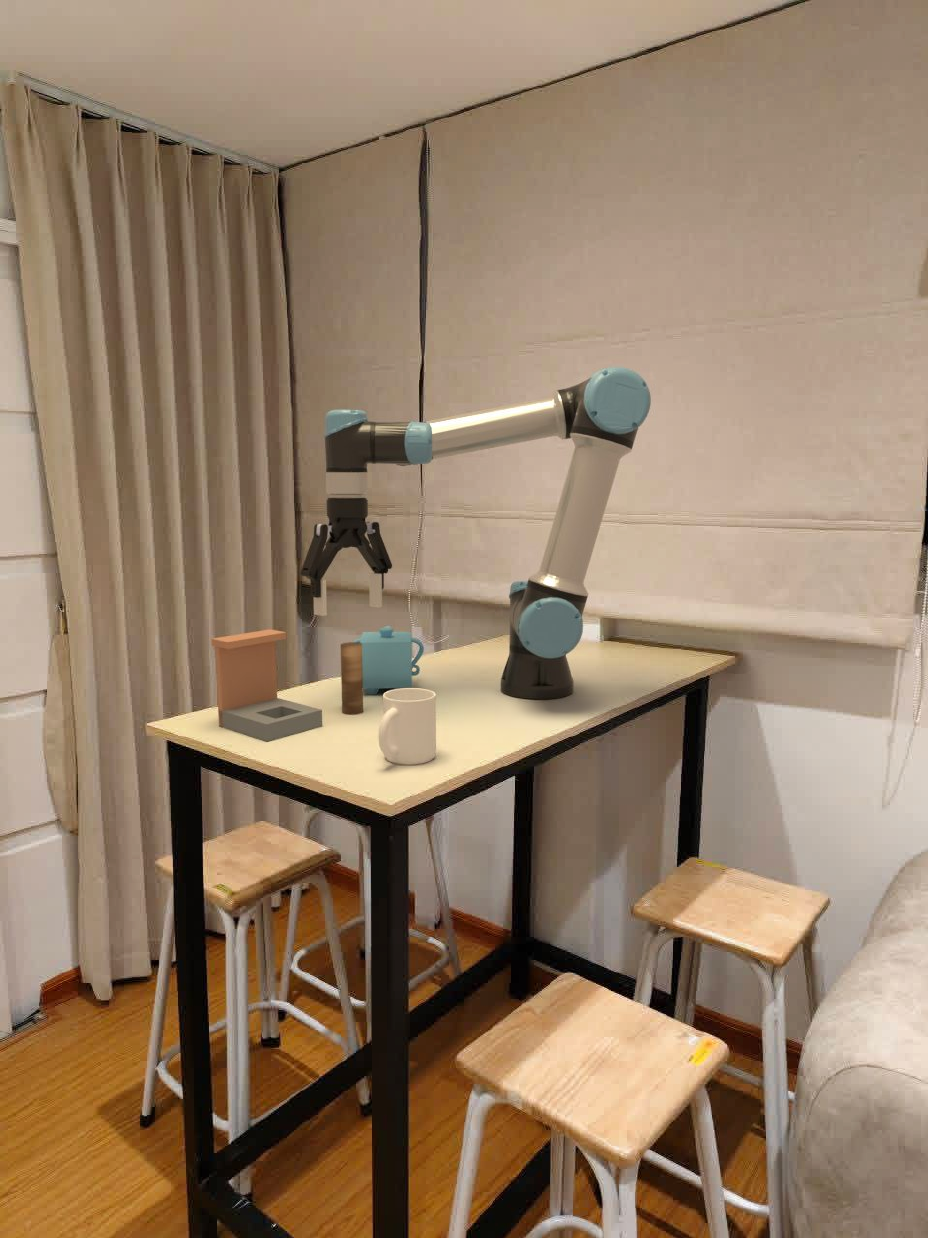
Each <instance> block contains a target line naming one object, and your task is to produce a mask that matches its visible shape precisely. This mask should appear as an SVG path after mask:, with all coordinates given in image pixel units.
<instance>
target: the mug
mask: <svg viewBox="0 0 928 1238" xmlns="http://www.w3.org/2000/svg"><path fill="white" fill-rule="evenodd" d="M382 712H383V713H382V714H383V716H382V717H381V720H380V722H379V723H380V724H379V728H378V745H379V748H380V751H381V752H382V754H383V755H384V758H385V759H386V760H387V761H388V762H390V763H393V764H396V765H401V766H402V765H403V766H413V765H421V764H426V763H428V762H431V761H432V760H433V759H435V757H436V753H437V752H436V751H437V695H436V692H435V691H433V690H430V689H426V688H420V687H419V688H417V687H415V688H414V687H412V688H401V689H395V688H393V689H390V690H387V691H386V692H384V693H383V695H382Z"/></svg>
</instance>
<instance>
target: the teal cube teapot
mask: <svg viewBox="0 0 928 1238" xmlns="http://www.w3.org/2000/svg"><path fill="white" fill-rule="evenodd" d="M378 630H379V631H363V632H362V633H361V637H360V638H356V639H354V640H353V641H352V642H357V643H362V666H363V690H364V689H366V690H365V692H364V694H367V695H376V694H378V692H379V689H401V688H413V677H416V676H418V675H419V674H420V673H421V672H420V671H421V669H420V667H419V666H420V665H418V664H417V663H418V661H419V660H420V659H421V657H422V656H423V655H424V649H425V647H424V644H423V642H422V641H421V640H420V639H419V638H416V637H412V631H394V628H392V627H391V626H390V625H385V626H384V627H380V628H379V629H378ZM412 643H415V644H416V645H418V646H419V650H418V651H417V654H416V655H415V657H414V658H413V656H412V655H413V654H412V649H413V648H412V647H413V646H412ZM414 668H415V669H416V670H415V671H413V669H414Z"/></svg>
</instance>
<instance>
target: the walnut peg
mask: <svg viewBox="0 0 928 1238" xmlns="http://www.w3.org/2000/svg"><path fill="white" fill-rule="evenodd" d="M340 676H341V678H340V679H341V680H340V681H341V713H342V714H345V715H350V716H351V715H352V716H353V715H360V714H363V713H364V689H363V666H362V643H357V642H353V641H349V642H348V641H347V642H343V643H340Z"/></svg>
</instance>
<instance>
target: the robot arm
mask: <svg viewBox="0 0 928 1238" xmlns="http://www.w3.org/2000/svg"><path fill="white" fill-rule="evenodd" d="M651 397H652V396H651V391H650V388H649V387H648V385H647V382H646V381H645V380H644V378H643V377H642V376H641V375H640V374H639V373H638V372H636V371H634V370H633V369H630V368H627V367H623V366H612V367H611V366H610V367H605V368H603V369H600V370H599V371H597V372H596V373H594V374H593V375H591V377H589V378H587V379H586V380H583V381H582V382H580V383H577V384H575V385H571V386H568V387H566V388H563V389H562V388H561V389H557V390H554V391H553V392H552V394H551V395H550V396H549V397H544V398H539V399H533V400H528V401H523V402H519V403H518V402H517V403H513V404H508V405H503V406H497V407H493V408H487V409H483V410H478V411H472V412H466V413H463V414H456V415H452V416H447V417H442V418H437V419H432V420H427V421H421V422H420V421H419V422H418V421H413V420H412V421H385V422H383V421H382V422H381V421H380V422H378V421H377V422H376V421H369V420H368V418H367V417H368V416H367V413H366V411H364V410H361V409H332V410H329V411H328V412H327V413H326V415H325V428H324V430H325V431H324V432H325V433H324V445H325V446H324V447H325V449H324V451H325V478H326V479H325V481H326V482H325V485H326V486H325V487H326V492H325V493H326V494H327V495H329V497H327V499H326V516H327V518H328V523H327V524H325V523H315V524H314V527H313V537H312V540H311V542H310V545H309V547H308V550H307V554H306V556H305V558H304V561H303V564H302V567H301V570H300V575H301V576H302V577H305V578H306V579H308V580H310V582H309V583H310V596H311V597H312V598H313V615H316V616H321V617H325V616H328V611H327V610H328V609H327V606H328V604H327V580H326V579H323V577H324V576H325V574H326V573H327V571H328V569H329V567H330V565H331V564H332V563H333V561H334V559H335V558H336V556H337V555H338V553H339V551H341V550H342V549H349V548H356V549H357V551H358V552H359V553H360V555H361V556H362V558H363V559H364V560H365V562H366V563H367V565H368V566H369V568H370V570H371V571H372V572H368V573H369V574H368V575H369V576H368V579H369V583H368V584H369V586H368V587H369V588H368V589H369V607H371V608H372V607H373V608H376V609H380V608H383V590H384V587H385V583H384V581H385V577H384V576H385V574H388V572H389V570H391V569H392V568H393V564H392V561H391V558H390V555H389V553H388V551H387V548H386V545H385V543H384V541H383V537H382V535H381V530H380V523H379V522H378V521H366V518H367V517H368V516H369V506H368V505H369V501H368V499H367V497H365V495H368V494H369V491H368V489H369V488H368V485H369V484H368V483H369V482H368V464H372V465H373V464H374V465H376V464H380V465H381V464H382V465H385V464H386V465H387V464H388V465H396V466H401V467H405V466H406V467H407V466H411V465H412V466H417V465H427V464H431V462H432V461H433V460H437V459H442V458H443V459H444V458H447V457H453V456H457V455H462V454H469V453H473V452H477V451H483V450H490V449H495V448H499V447H503V446H504V447H505V446H510V445H515V444H520V443H525V442H531V441H535V440H540V439H546V438H551V437H557V438H560V439H561V440H562V441H563V440H568V439H571V440H572V442H573V444H574V450H573V452H572V456H571V460H570V464H569V466H568V470H567V474H566V478H565V481H564V485H563V487H562V491H561V495H560V497H559V502H558V504H557V505H558V506H557V508H556V511H555V515H554V518H553V521H552V525H551V528H550V532H549V536H548V540H547V543H546V547H545V550H544V553H543V557H542V561H541V564H540V567H539V570H538V571H537V572H536V573H534V574H532V575H531V576H529V577H528V580H522V581H521V580H520V581H513V582H512V583H511V584H510V587H509V590H510V591H509V593H508V598H509V652H508V657H507V659H506V662H505V666H504V669H503V673H502V676H501V677H500V691H501V693H503V694H505V695H508V696H511V697H514V698H521V699H528V700H529V699H534V700H535V699H536V700H547V699H548V700H550V699H551V700H552V699H558V698H564V697H567V696H570V695H571V694H572V693H574V678H573V677H572V673H571V668H570V666H569V662H568V658H567V654H570V653H571V652H572V651H573V650H574V649H575V648H576V647H577V645H578V644H579V643H580V641H581V639H582V636H583V633H584V631H583V629H584V620H583V615H584V611H585V607H586V604H587V601H588V597H589V592H588V591H587V588H586V587H585V584H584V582H585V579H586V576H587V571H588V568H589V565H590V562H591V559H592V558H591V557H592V556H593V551H594V548H595V546H596V545H595V544H596V541H597V538H598V535H599V531H600V528H601V524H602V522H603V518H604V514H605V511H606V507H607V504H608V501H609V497H610V494H611V491H612V488H613V485H614V481H615V478H616V474H617V470H618V467H619V464H620V460H621V459H622V458H623V457H625V456H626V455H628V454H629V453H631V452H632V451H633V450H632V449H633V446H634V444H635V439H636V436H637V434H638V430H639V427H640V426H642V425H643V423H644V422H645V421H646V419H647V417H648V414H649V412H650V410H651V404H652V403H651V402H652V399H651ZM366 535H367V537H366ZM328 536H329V537H328Z"/></svg>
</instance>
